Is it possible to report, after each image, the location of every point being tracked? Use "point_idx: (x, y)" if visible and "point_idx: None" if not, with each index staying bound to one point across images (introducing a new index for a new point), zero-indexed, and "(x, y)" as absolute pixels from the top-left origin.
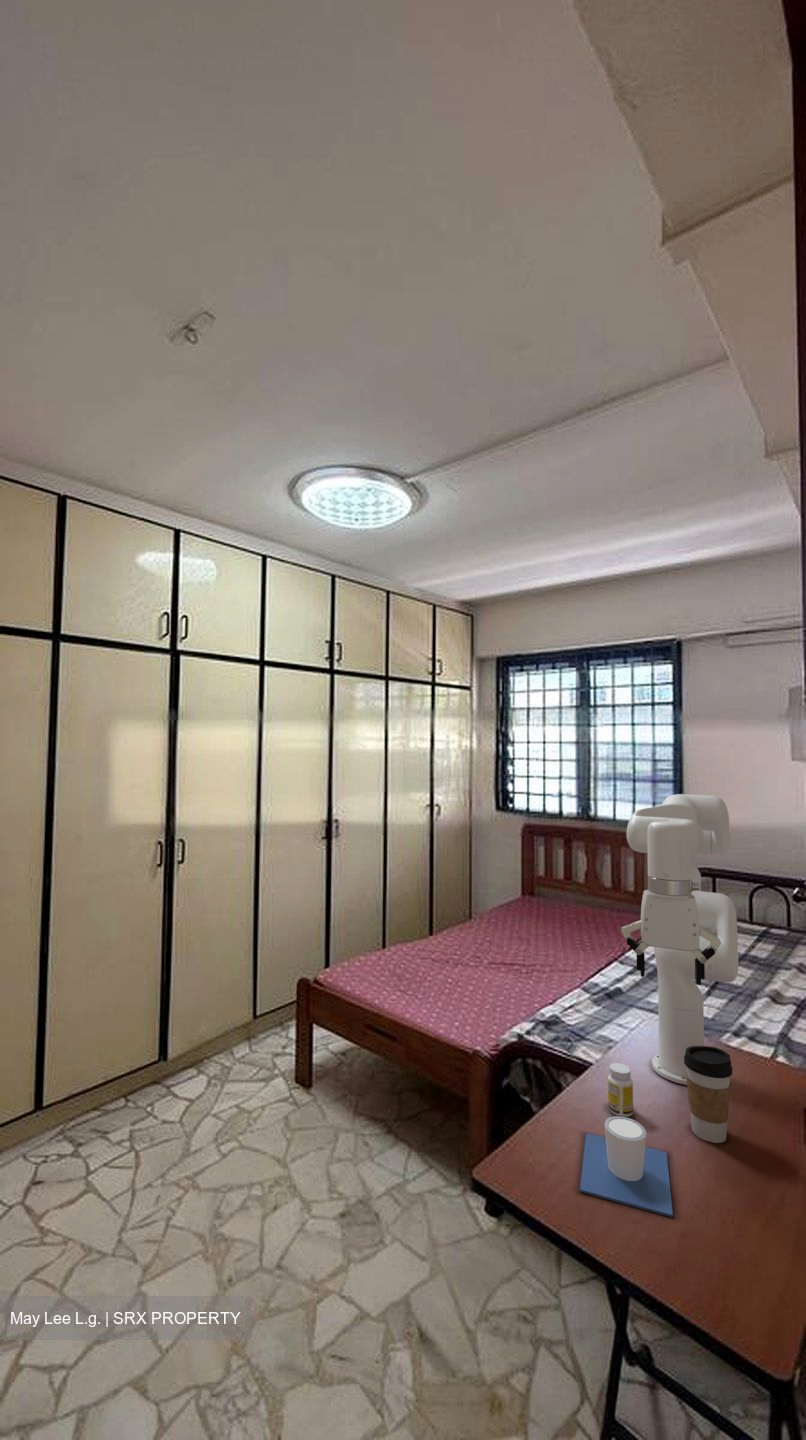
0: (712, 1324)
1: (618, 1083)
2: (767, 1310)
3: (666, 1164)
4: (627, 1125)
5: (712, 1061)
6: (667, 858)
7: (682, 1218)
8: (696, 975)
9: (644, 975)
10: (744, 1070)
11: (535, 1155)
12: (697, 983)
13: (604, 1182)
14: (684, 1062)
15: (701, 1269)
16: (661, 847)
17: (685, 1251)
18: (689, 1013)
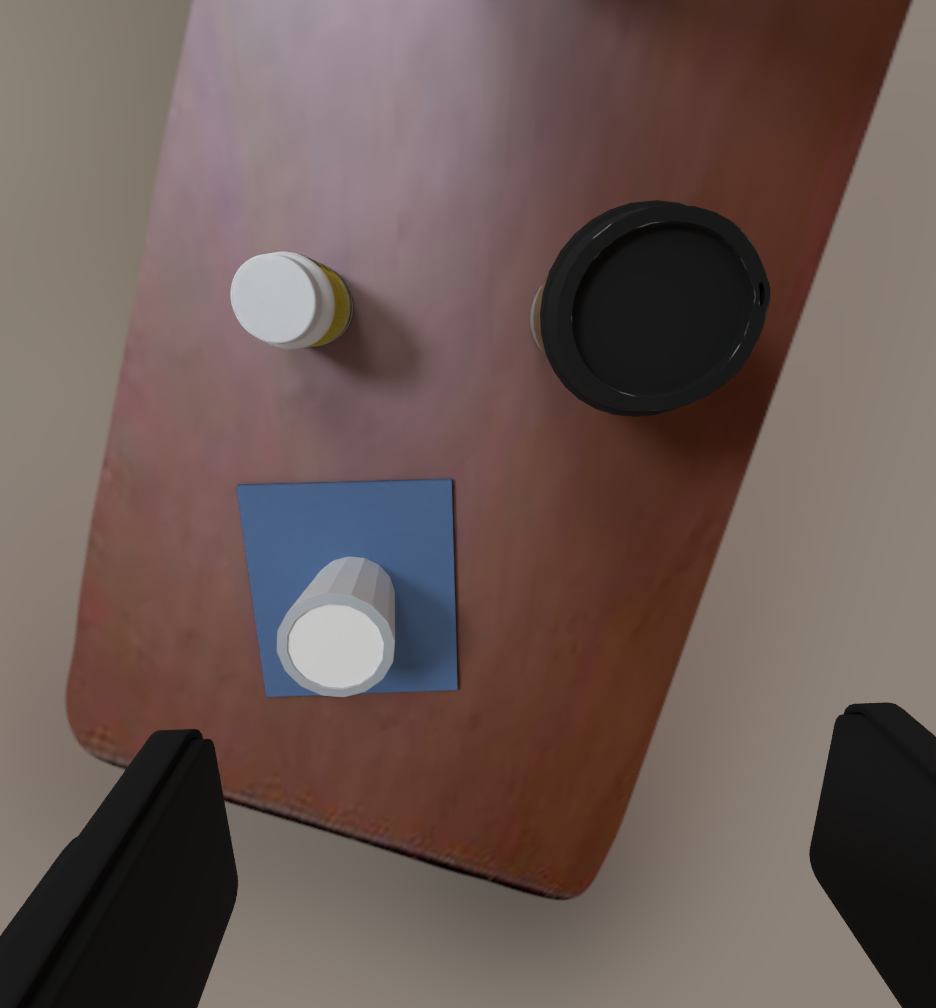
0: (503, 863)
1: (284, 347)
2: (589, 812)
3: (449, 532)
4: (340, 631)
5: (670, 346)
6: None
7: (476, 680)
8: (876, 946)
9: (231, 902)
10: None
11: (140, 620)
12: (820, 872)
13: None
14: (541, 326)
15: (499, 780)
16: None
17: (475, 755)
18: None
